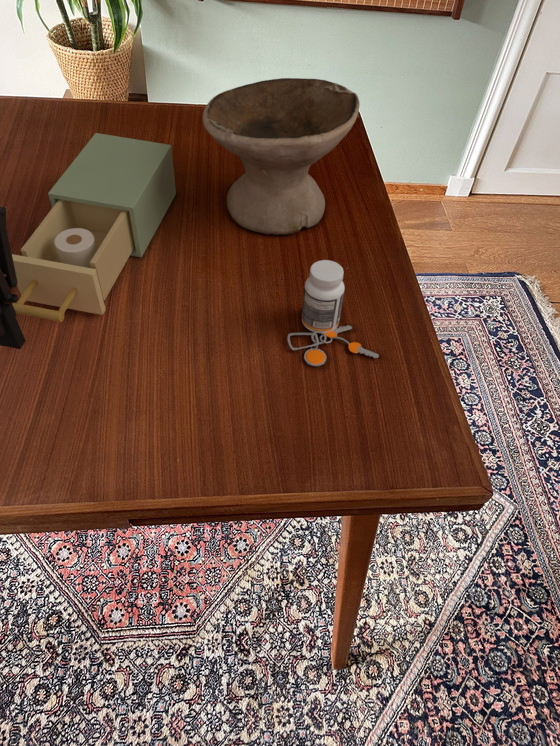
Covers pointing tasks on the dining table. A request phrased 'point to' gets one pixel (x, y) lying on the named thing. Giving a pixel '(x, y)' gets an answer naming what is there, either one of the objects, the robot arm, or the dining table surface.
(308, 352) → the key chain
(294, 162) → the bowl
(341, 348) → the dining table surface
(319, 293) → the pill bottle
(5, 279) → the robot arm
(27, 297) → the drawer
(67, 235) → the paper roll
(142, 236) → the cabinet
